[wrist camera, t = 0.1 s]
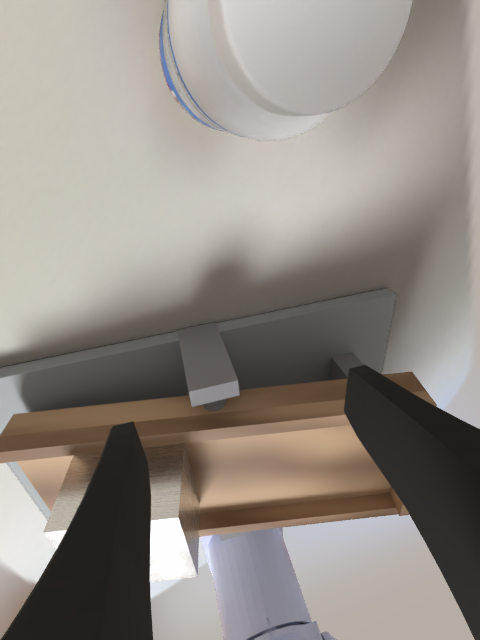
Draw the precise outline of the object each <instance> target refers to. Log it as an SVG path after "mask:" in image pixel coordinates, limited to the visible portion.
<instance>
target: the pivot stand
mask: <svg viewBox="0 0 480 640" xmlns="http://www.w3.org/2000/svg"><path fill="white" fill-rule="evenodd" d="M395 300H396V294H395V293H394V292H392V291H391V290H389V289H388V288H385V289H380V290H375V291H370V292H366V293H361V294H356V295H351V296H346V297H341V298H336V299H332V300H327V301H322V302H317V303H312V304H307V305H302V306H298V307H293V308H288V309H283V310H278V311H273V312H268V313H264V314H259V315H254V316H249V317H244V318H239V319H234V320H230V321H225V322H220V323H216V322H213V323H208V324H203V325H198V326H194V327H189V328H184V329H179V330H177V331H176V332H171V333H166V334H162V335H157V336H152V337H147V338H142V339H137V340H132V341H128V342H123V343H118V344H113V345H108V346H103V347H98V348H94V349H89V350H84V351H79V352H74V353H69V354H64V355H60V356H55V357H50V358H45V359H40V360H35V361H30V362H26V363H21V364H16V365H11V366H6V367H1V368H0V435H1V433H2V431H3V430H4V428H5V427H6V425H7V424H8V422H9V420H10V419H11V417H12V416H13V414H19V413H28V412H38V411H47V410H56V409H66V408H75V407H85V406H94V405H103V404H113V403H122V402H132V401H141V400H150V399H160V398H169V397H179V396H188V395H189V396H190V400H191V405H192V407H194V406H198V405H202V404H206V403H210V402H214V401H218V400H223V399H227V398H231V397H235V396H239V395H240V393H239V390H244V389H254V388H263V387H272V386H282V385H291V384H301V383H310V382H319V381H329V380H338V379H348V373H349V369H350V368H354V367H358V366H362V365H367V366H368V367H370V368H372V369H373V370H375V371H377V372H378V373H380V374H382V369H383V364H384V359H385V353H386V348H387V343H388V337H389V332H390V327H391V322H392V316H393V311H394V306H395ZM7 465H8V466H9V468H10V469H11V470H12V472H13V473H14V475H15V476H16V477H17V479H18V480H19V481H20V483H21V484H22V486H23V487H24V488H25V490H26V491H27V493H28V494H29V495H30V497H31V498H32V500H33V501H34V502H35V504H36V505H37V507H38V508H39V509H40V511H41V512H42V514H43V515H44V516H45V518H46V519H47V521H48V519H49V516H50V514H51V511H50V510H49V508H48V507H47V505H46V504H45V502H44V501H43V499H42V498H41V497H40V495H39V494H38V492H37V491H36V489H35V488H34V486H33V485H32V483H31V482H30V481H29V479H28V478H27V476H26V475H25V473H24V472H23V470H22V469H21V468H20V466H19V465H18V463H17V462H7ZM250 532H253V531H245V532H236V533H228V534H220V539H221V541H225V540H228V539H231V538H234V537H237V536H240V535H243V534H247V533H250Z"/></svg>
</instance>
